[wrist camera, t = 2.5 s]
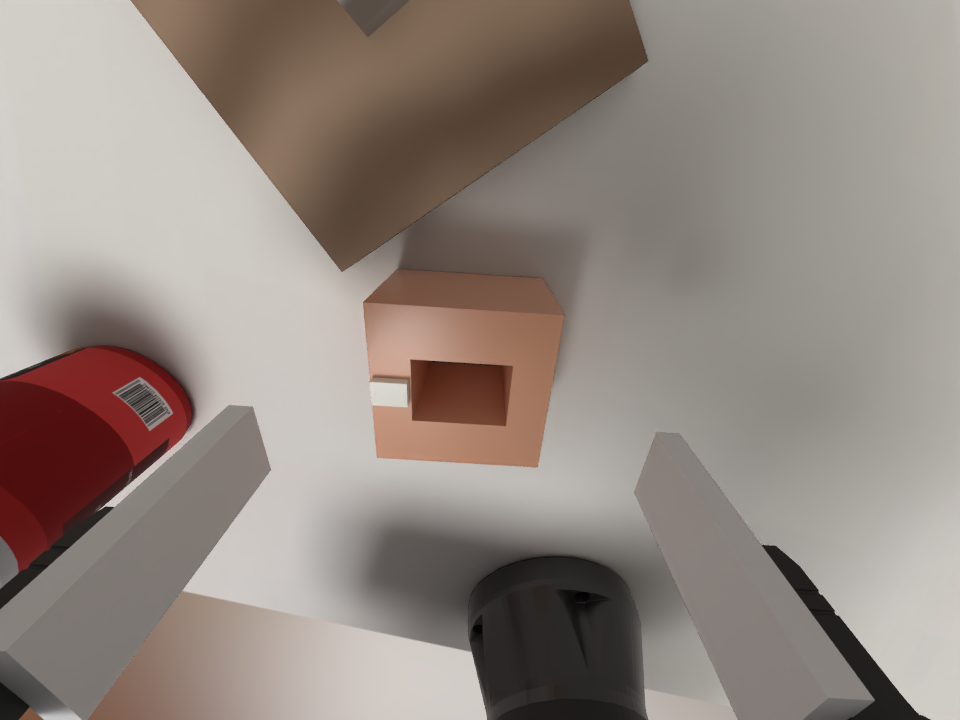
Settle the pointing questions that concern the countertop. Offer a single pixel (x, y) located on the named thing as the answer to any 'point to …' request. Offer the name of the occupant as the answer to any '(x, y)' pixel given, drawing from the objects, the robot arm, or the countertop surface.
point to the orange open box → (461, 366)
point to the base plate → (392, 93)
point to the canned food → (78, 441)
